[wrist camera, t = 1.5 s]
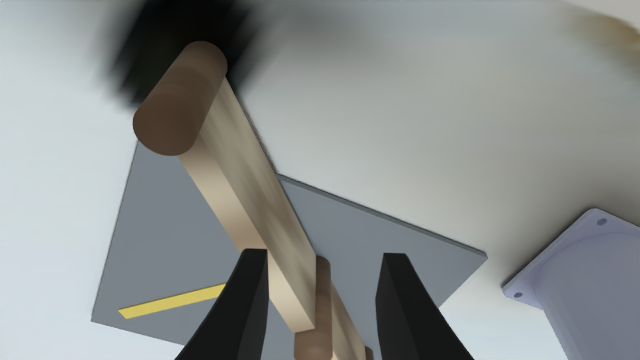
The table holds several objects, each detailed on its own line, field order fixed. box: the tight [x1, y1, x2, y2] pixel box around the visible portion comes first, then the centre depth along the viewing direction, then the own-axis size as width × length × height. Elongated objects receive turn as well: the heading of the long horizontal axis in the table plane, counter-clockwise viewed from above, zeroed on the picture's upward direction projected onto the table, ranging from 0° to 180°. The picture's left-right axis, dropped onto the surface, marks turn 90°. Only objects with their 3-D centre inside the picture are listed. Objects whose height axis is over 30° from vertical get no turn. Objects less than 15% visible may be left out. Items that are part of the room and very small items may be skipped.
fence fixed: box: [294, 255, 374, 360], centre depth 27 cm, size 12×2×6 cm, turn 20°
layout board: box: [91, 141, 488, 360], centre depth 28 cm, size 21×17×1 cm
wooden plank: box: [133, 41, 316, 333], centre depth 19 cm, size 14×2×6 cm, turn 20°
